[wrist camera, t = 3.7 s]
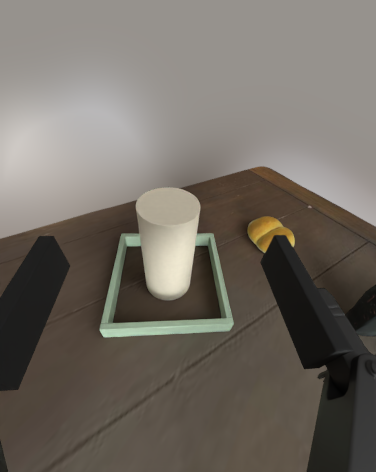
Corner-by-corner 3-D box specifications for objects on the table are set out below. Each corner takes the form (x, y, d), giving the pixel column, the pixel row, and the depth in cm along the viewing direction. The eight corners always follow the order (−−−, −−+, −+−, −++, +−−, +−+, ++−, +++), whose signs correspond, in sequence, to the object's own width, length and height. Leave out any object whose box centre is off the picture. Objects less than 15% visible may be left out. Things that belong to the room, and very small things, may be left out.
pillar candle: (144, 301, 30) (131, 225, 19) (147, 263, 35) (139, 186, 24) (191, 299, 31) (204, 225, 20) (188, 262, 36) (197, 187, 25)
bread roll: (269, 263, 37) (278, 248, 34) (239, 231, 42) (244, 216, 39) (301, 249, 40) (311, 235, 37) (269, 221, 45) (275, 207, 42)
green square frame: (103, 337, 26) (99, 330, 24) (123, 243, 38) (121, 233, 36) (229, 331, 28) (233, 323, 26) (211, 242, 39) (213, 233, 38)
